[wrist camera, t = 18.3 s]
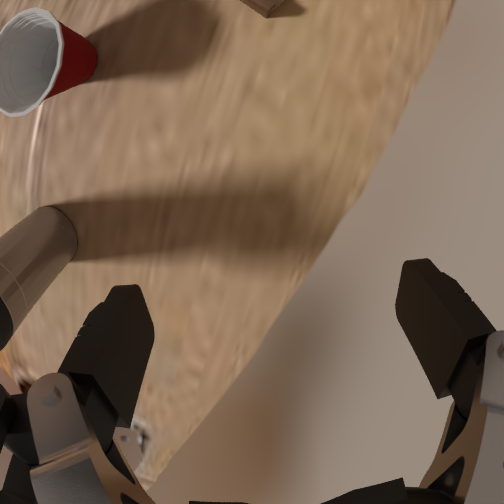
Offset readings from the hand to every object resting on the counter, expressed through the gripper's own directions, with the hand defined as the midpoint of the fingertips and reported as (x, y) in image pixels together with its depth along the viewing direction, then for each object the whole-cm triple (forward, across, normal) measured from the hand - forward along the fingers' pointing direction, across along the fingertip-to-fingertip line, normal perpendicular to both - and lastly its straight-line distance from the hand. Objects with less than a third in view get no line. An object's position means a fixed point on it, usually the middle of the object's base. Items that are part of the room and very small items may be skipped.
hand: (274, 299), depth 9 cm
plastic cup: (+28, +20, -14) cm, 37 cm away
